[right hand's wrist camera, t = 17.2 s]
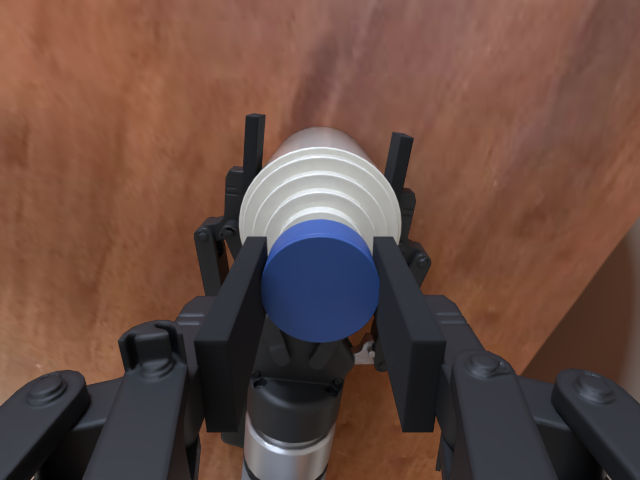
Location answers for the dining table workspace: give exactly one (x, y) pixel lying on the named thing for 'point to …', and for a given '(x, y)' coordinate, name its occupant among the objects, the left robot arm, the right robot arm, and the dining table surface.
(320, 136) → the bottle
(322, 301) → the cap
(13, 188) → the dining table surface
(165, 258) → the dining table surface
